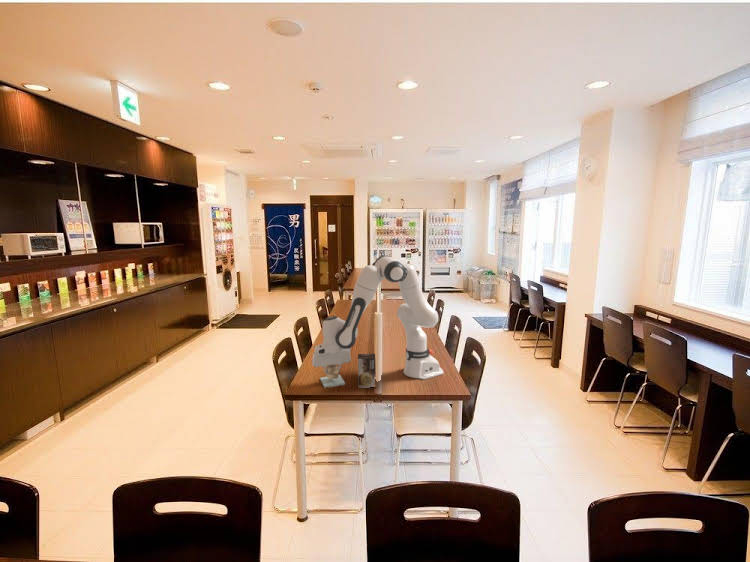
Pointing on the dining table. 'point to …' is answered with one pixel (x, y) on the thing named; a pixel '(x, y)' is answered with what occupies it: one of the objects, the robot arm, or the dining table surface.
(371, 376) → the coffee box
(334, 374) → the ash block
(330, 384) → the tile
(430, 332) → the dining table surface
